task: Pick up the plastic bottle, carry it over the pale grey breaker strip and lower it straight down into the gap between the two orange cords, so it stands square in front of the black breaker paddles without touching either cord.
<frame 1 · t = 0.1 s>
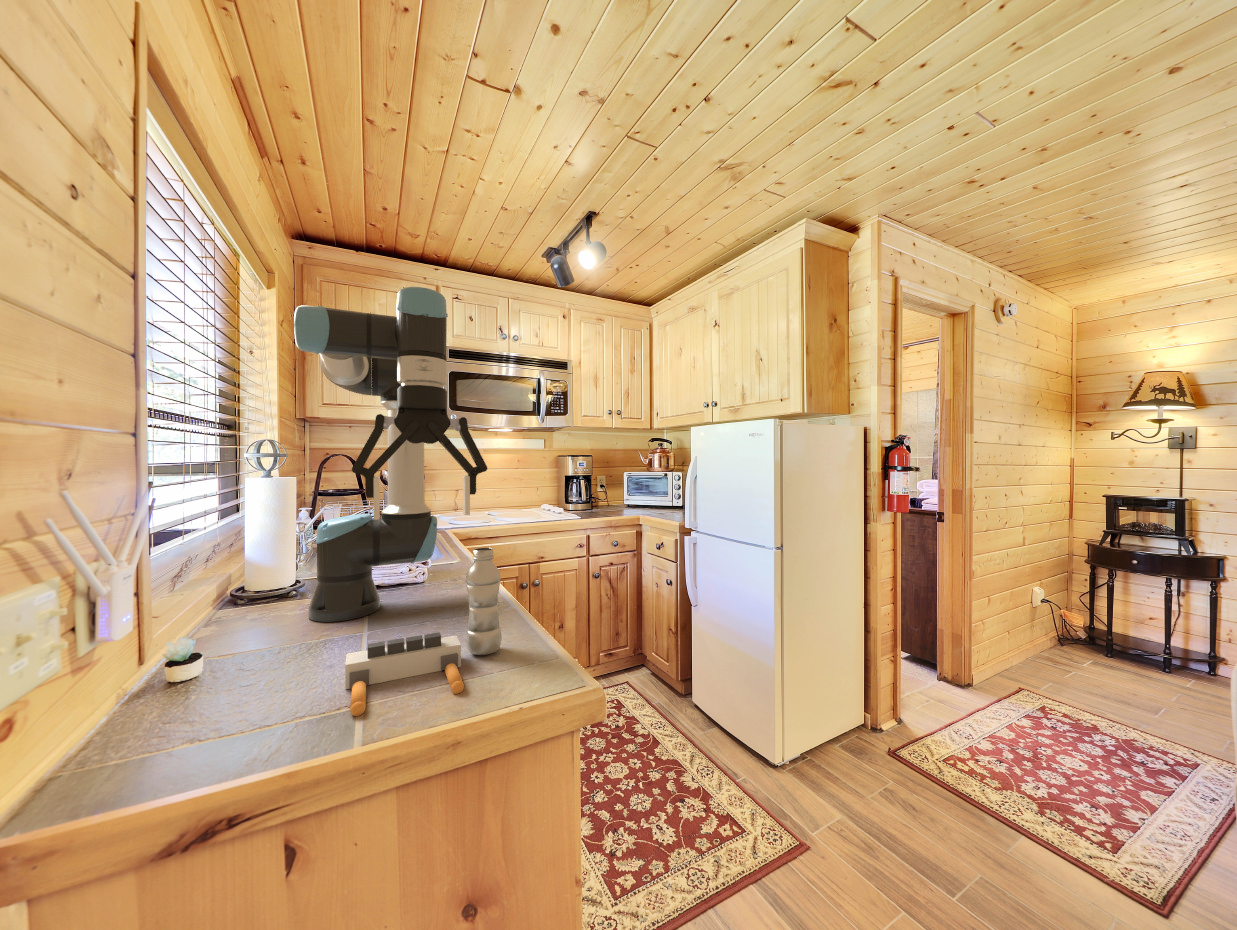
hand: (423, 516, 77), 28 cm above the counter, tool pointing down, fingers open, 13 cm apart
cord 2: (454, 684, 79), on the counter
breaker strip: (405, 671, 83), on the counter
plastic bottle: (483, 653, 91), on the counter
cord 1: (358, 704, 72), on the counter
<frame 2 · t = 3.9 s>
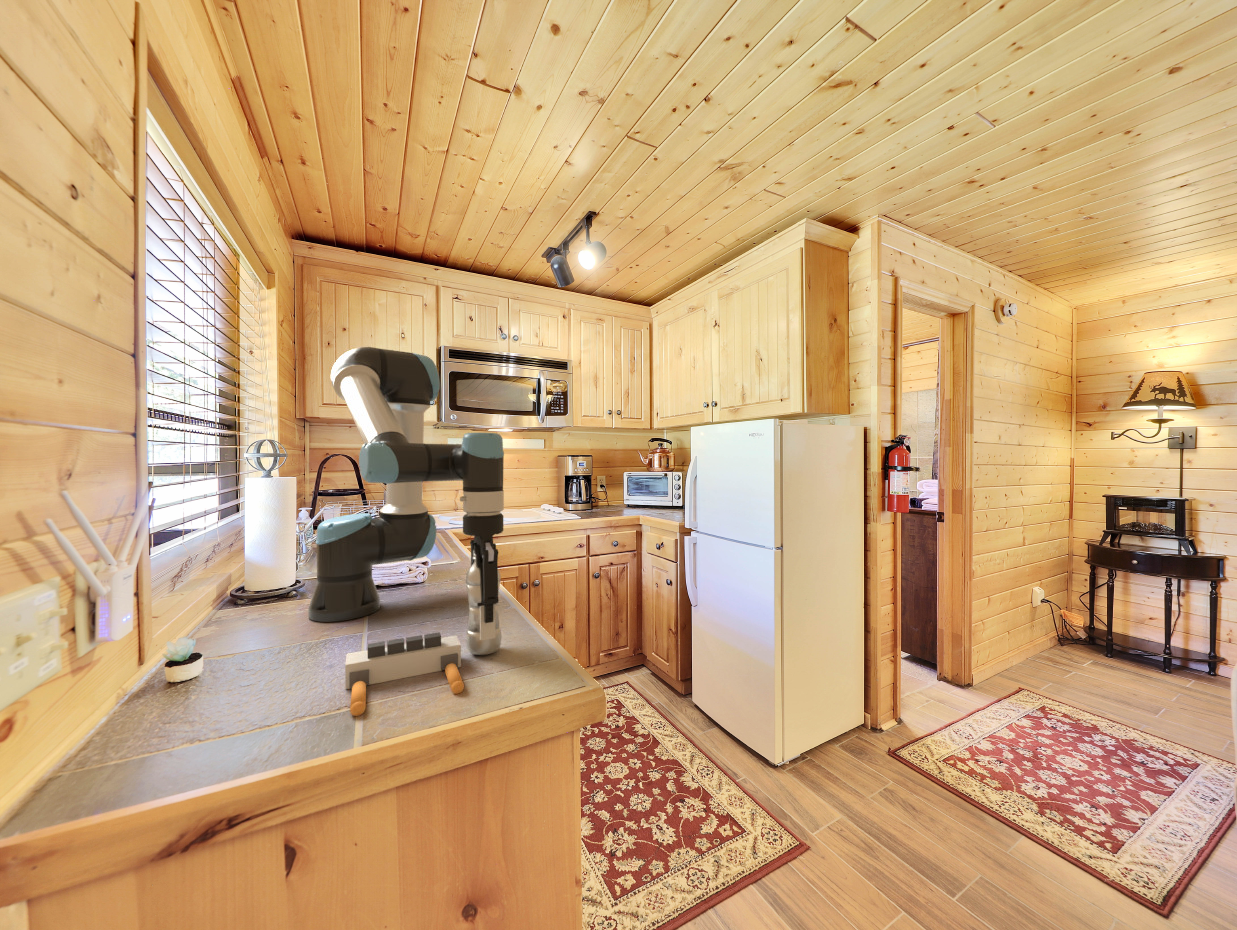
hand: (483, 632, 91), 4 cm above the counter, tool pointing down, fingers closed on plastic bottle, 6 cm apart
plastic bottle: (483, 653, 91), on the counter, touching gripper
everything else where it was.
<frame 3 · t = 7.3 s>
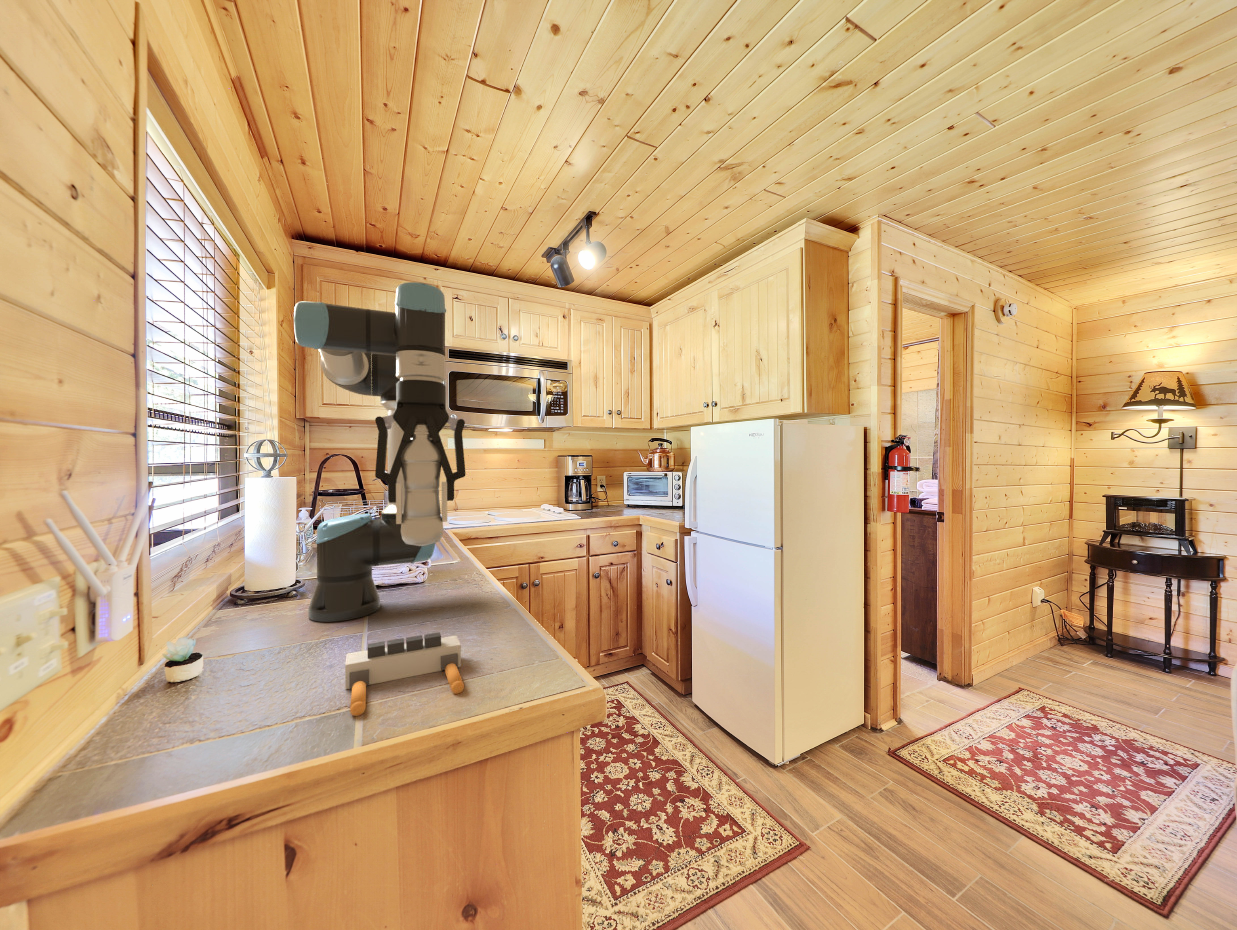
hand: (422, 521, 78), 27 cm above the counter, tool pointing down, fingers closed on plastic bottle, 6 cm apart
plastic bottle: (422, 546, 78), point 23 cm above the counter, touching gripper
everything else where it was.
when the fingers open (5 cm above the counter, at t = 11.1 s): plastic bottle drops 1 cm, on the counter.
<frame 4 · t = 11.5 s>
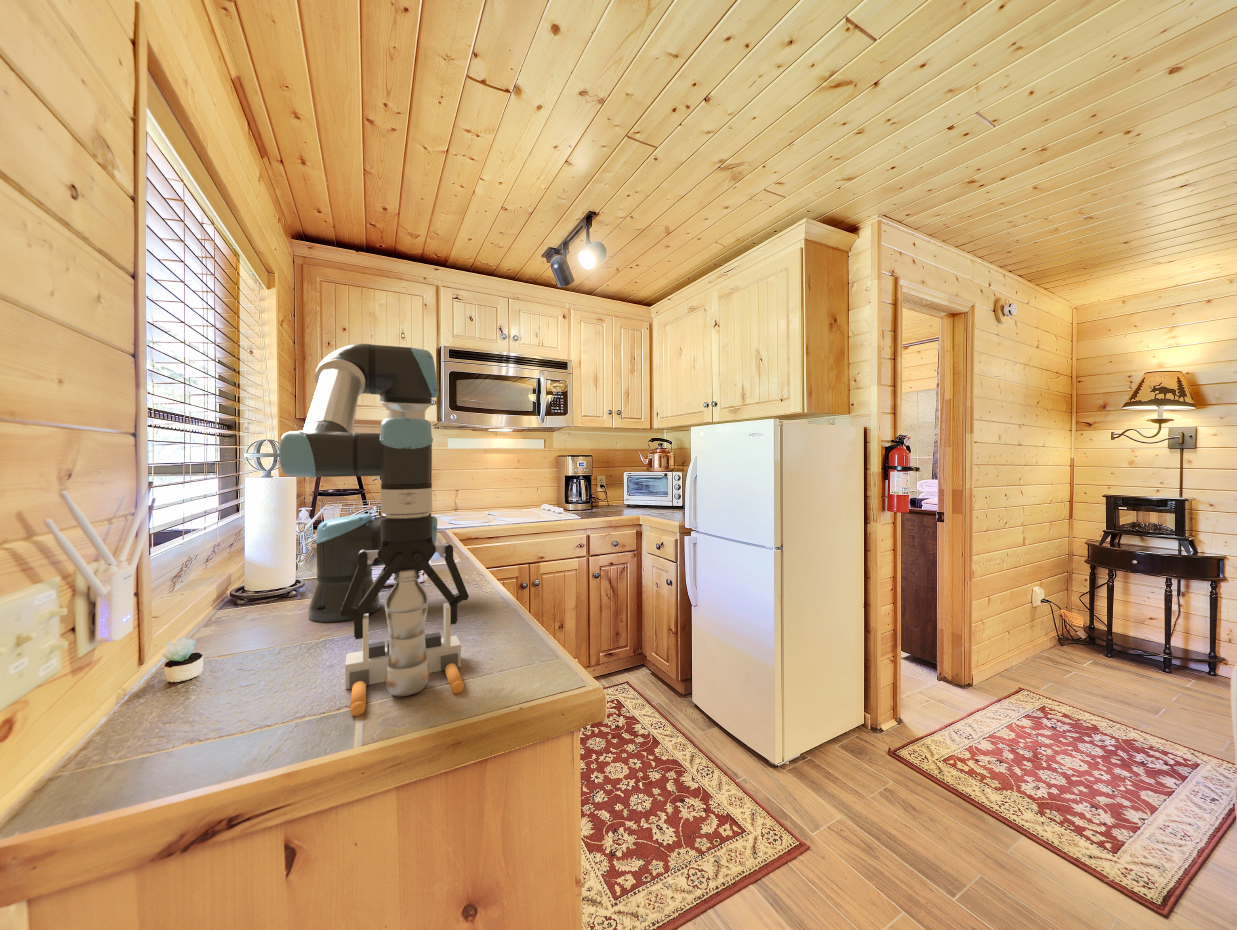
hand: (408, 650, 76), 7 cm above the counter, tool pointing down, fingers open, 11 cm apart
plastic bottle: (407, 692, 76), on the counter
everything else where it was.
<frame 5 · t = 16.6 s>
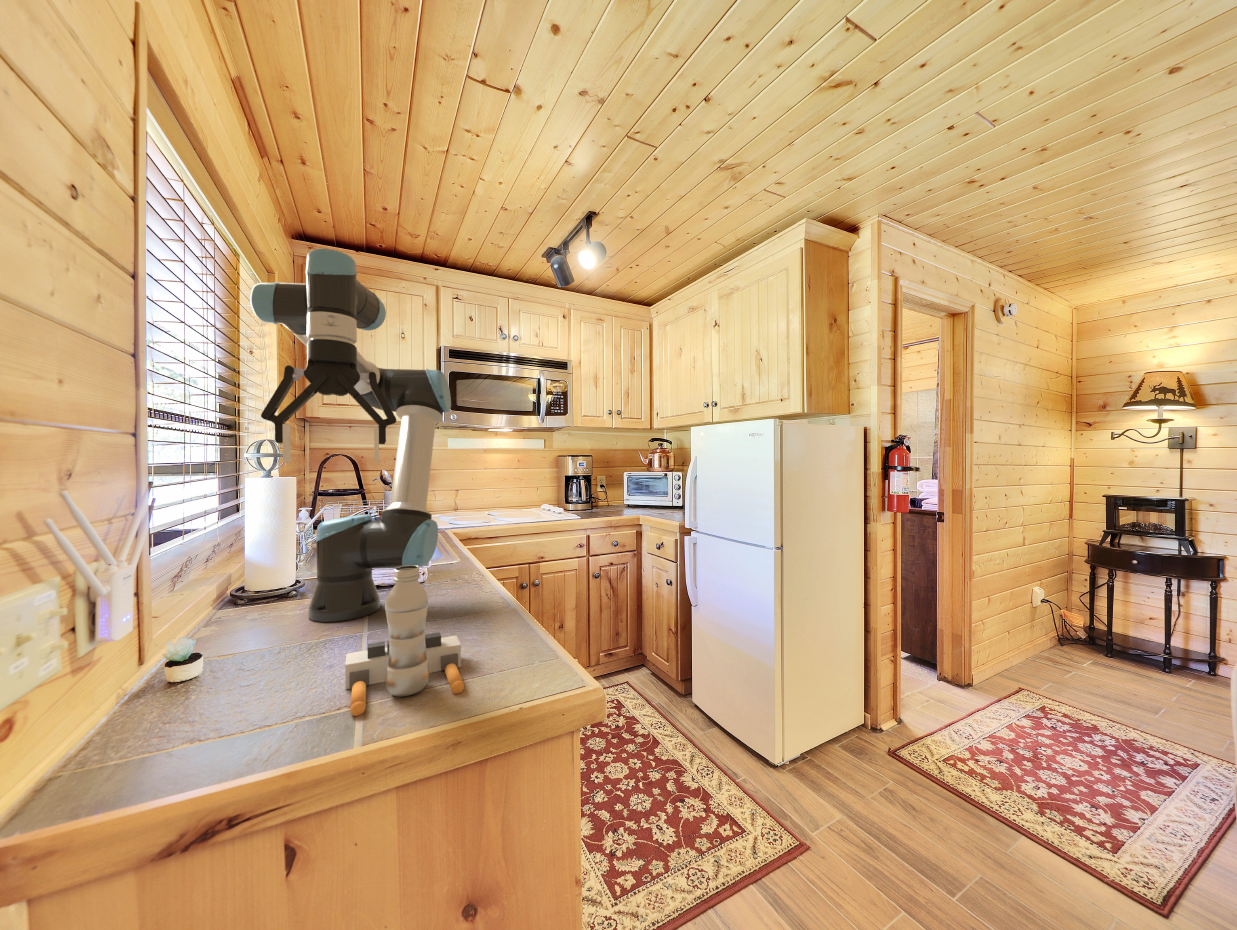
hand: (333, 462, 84), 37 cm above the counter, tool pointing down, fingers open, 13 cm apart
nothing on the counter moved.
at the end: plastic bottle inside the target area (0.1 cm from its centre), on the counter; cord 1 moved 0.2 cm from its start; cord 2 moved 0.2 cm from its start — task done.
